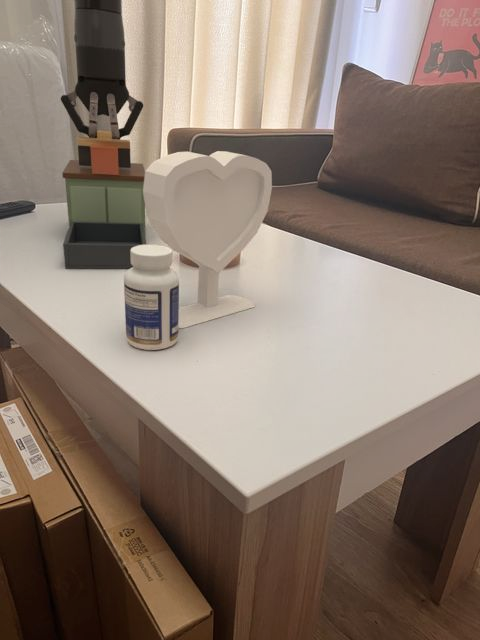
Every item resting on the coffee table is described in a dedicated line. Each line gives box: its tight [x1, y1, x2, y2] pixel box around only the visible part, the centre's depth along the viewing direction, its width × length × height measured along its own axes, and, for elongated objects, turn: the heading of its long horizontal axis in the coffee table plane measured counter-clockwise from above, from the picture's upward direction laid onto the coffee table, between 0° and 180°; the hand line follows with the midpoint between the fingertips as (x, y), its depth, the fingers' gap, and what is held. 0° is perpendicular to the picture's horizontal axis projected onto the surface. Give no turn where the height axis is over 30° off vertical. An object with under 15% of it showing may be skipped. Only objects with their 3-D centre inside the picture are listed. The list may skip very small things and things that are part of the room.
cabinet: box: [62, 159, 147, 238], centre depth 90 cm, size 13×15×11 cm
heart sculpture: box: [143, 150, 273, 329], centre depth 60 cm, size 16×5×18 cm, turn 136°
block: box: [90, 144, 119, 175], centre depth 82 cm, size 4×4×4 cm
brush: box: [76, 128, 132, 168], centre depth 87 cm, size 9×8×5 cm
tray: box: [62, 221, 148, 270], centre depth 79 cm, size 11×13×4 cm
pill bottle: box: [123, 244, 180, 351], centre depth 53 cm, size 5×5×10 cm
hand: (105, 160), depth 91 cm, fingers closed on brush
